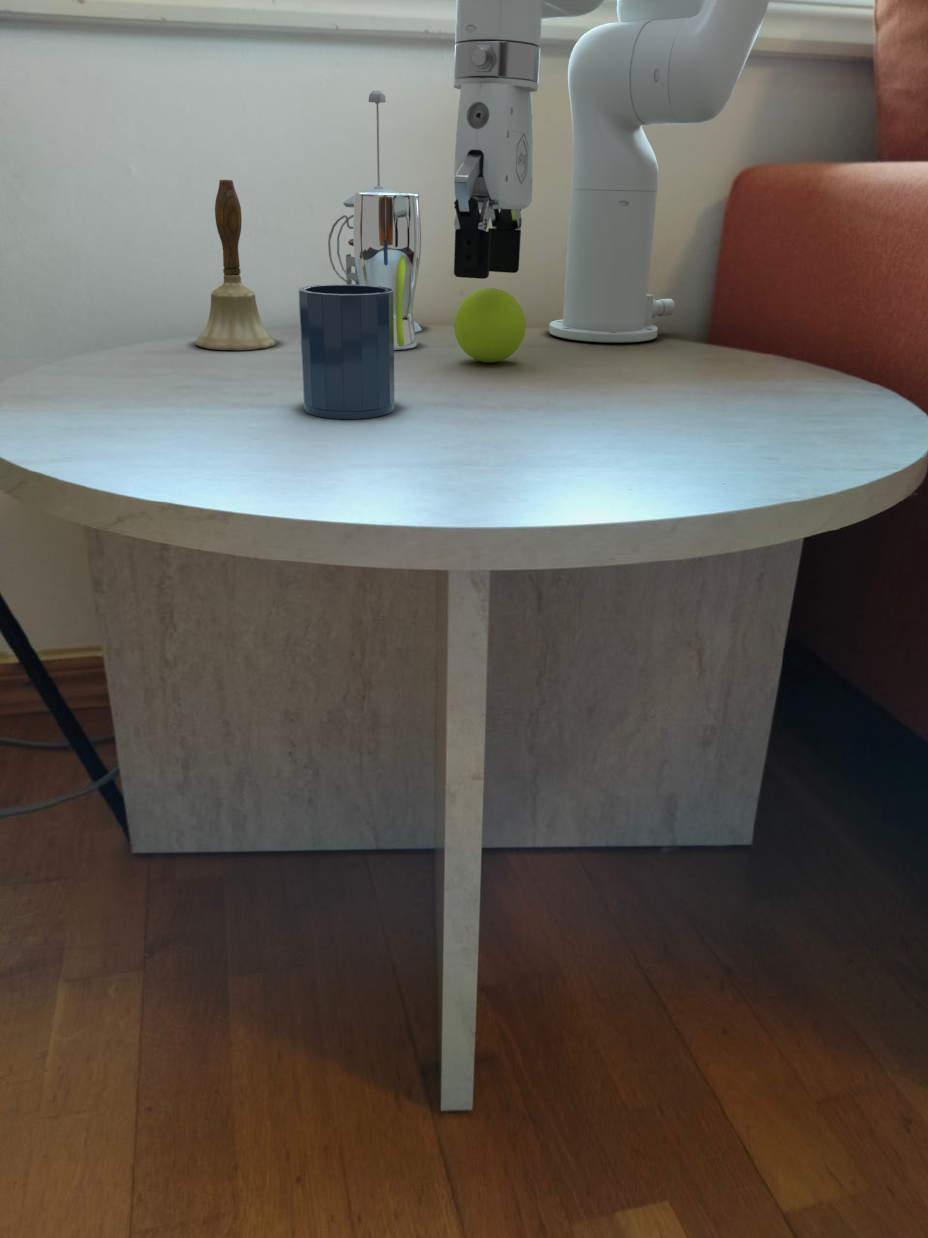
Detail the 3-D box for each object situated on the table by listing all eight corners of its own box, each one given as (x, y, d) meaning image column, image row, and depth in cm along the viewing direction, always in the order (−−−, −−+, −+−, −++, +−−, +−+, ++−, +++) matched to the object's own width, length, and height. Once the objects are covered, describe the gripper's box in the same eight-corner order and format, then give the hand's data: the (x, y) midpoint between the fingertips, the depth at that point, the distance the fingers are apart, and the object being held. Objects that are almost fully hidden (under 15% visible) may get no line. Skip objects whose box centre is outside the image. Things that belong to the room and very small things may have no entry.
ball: (496, 353, 102) (499, 283, 99) (538, 364, 97) (542, 290, 94) (440, 359, 99) (441, 286, 96) (480, 370, 93) (482, 293, 91)
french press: (391, 337, 111) (388, 85, 100) (309, 328, 116) (299, 87, 106) (437, 327, 118) (439, 92, 108) (359, 319, 124) (353, 94, 113)
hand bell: (288, 340, 107) (280, 180, 101) (255, 352, 100) (244, 180, 93) (218, 336, 109) (206, 178, 102) (181, 347, 102) (164, 178, 95)
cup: (366, 396, 82) (364, 282, 78) (410, 412, 77) (410, 292, 73) (289, 405, 78) (283, 286, 75) (329, 423, 73) (325, 296, 69)
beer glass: (411, 352, 102) (411, 194, 96) (347, 348, 103) (342, 193, 97) (427, 342, 108) (428, 193, 102) (366, 339, 109) (363, 192, 103)
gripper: (509, 57, 79) (498, 282, 85) (561, 82, 94) (548, 272, 100) (421, 57, 81) (417, 277, 87) (486, 81, 96) (478, 267, 103)
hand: (487, 274), depth 94 cm, fingers open, 9 cm apart
